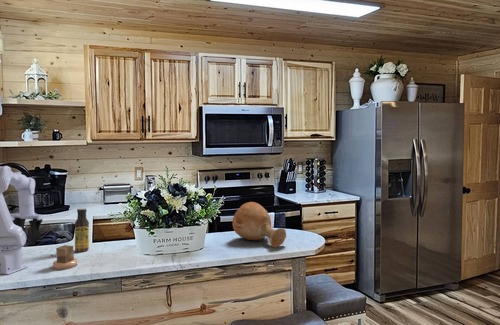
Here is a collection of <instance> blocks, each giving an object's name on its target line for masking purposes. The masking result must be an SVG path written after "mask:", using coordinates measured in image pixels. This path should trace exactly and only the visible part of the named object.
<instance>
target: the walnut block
mask: <svg viewBox="0 0 500 325" xmlns="http://www.w3.org/2000/svg"><path fill="white" fill-rule="evenodd" d="M74 251H75V249H74V245H67V244H66V245H65V244H64V245H62V246H59V247H56V251H55V252H56V260H57V262H58V263H68V262H70V261H73V260H74V258H75V253H74Z"/></svg>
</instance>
